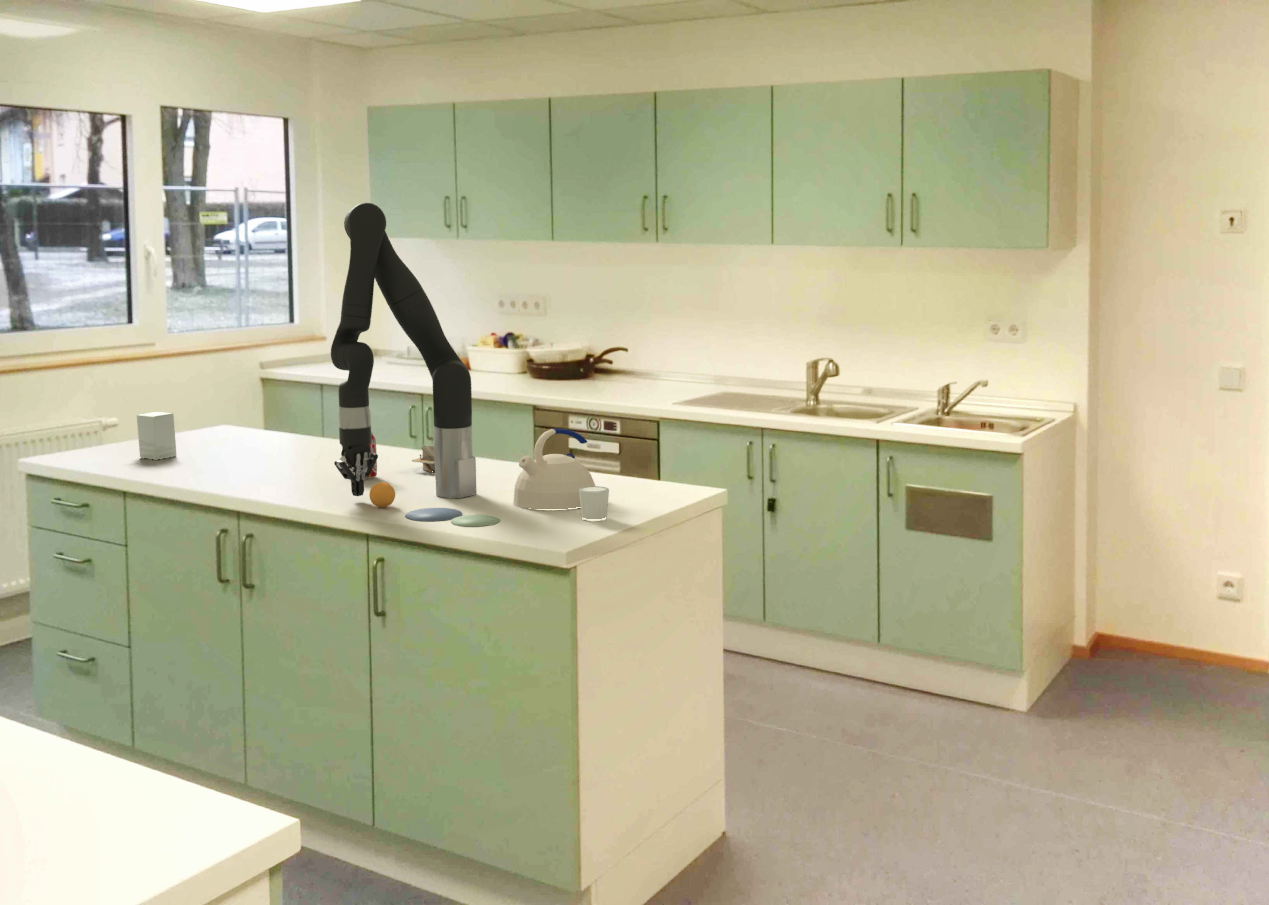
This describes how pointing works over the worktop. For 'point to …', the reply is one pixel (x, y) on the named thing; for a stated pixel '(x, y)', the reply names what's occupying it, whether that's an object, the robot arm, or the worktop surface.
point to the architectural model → (427, 458)
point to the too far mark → (475, 520)
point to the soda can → (374, 470)
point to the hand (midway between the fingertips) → (357, 495)
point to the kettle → (551, 477)
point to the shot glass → (594, 502)
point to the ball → (382, 494)
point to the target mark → (433, 514)
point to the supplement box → (156, 435)
